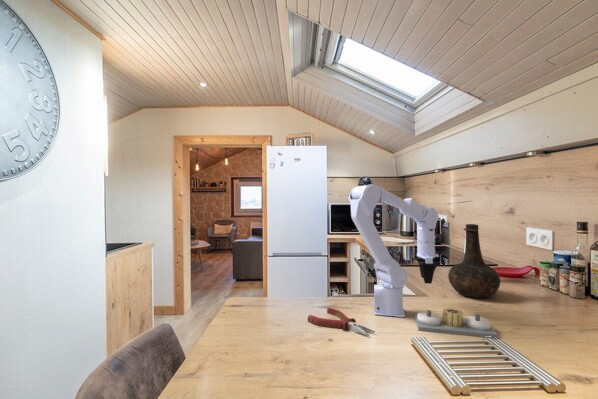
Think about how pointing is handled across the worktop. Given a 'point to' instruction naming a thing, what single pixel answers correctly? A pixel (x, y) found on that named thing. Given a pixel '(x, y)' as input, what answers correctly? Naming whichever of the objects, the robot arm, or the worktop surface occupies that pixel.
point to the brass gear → (453, 317)
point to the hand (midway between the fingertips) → (426, 280)
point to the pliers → (339, 322)
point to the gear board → (471, 327)
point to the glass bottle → (473, 270)
